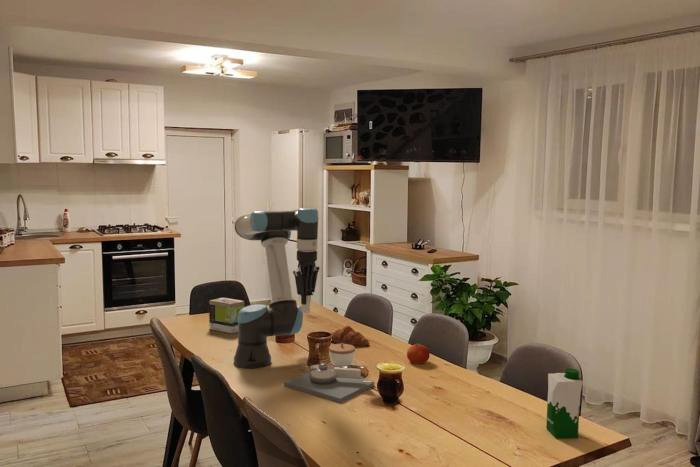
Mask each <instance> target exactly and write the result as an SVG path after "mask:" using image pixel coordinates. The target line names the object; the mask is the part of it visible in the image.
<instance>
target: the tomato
mask: <svg viewBox="0 0 700 467" xmlns="http://www.w3.org/2000/svg"><path fill="white" fill-rule="evenodd" d="M430 355H431V354H430V348H428V347H427V346H426V345H425V344H421V343H416V344H415V343H414V344H413V345H411V346H409V347H408V349H407V351H406V358H407V360H409V362H411V363H413V364H422V363H426V362H427V361H429V358H430Z"/></svg>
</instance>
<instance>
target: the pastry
mask: <svg viewBox="0 0 700 467" xmlns="http://www.w3.org/2000/svg"><path fill="white" fill-rule="evenodd" d="M330 333H331V335H332V342H331V343H333V344H341V343H343V344H349V345H352V346H354V347H367V346H370V341H369V340H368V339H367V338H366V337H365V336H364V335H363V334H362V333H361V332H359V331H356V330H354V328H353V327H351V326H350V325H345V326H343V327H342V329H336V330H335V331H333V332H330Z"/></svg>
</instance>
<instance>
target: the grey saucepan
mask: <svg viewBox="0 0 700 467" xmlns="http://www.w3.org/2000/svg"><path fill="white" fill-rule="evenodd" d="M367 369H368V368H367V366H366V365H360V366H359V368H355V367H353V368H352V367H347V368H340V367H335V366H334V365H333V364H332V365H331V364H329V363H327V362H320V363H319V364H313V365H310V366H309V368H308V372H309V378H310V381H311V382H313V383H317V384H329V383H333V382H335V381H336V380H337V378H352V379H364V377H367V373H368V370H367Z"/></svg>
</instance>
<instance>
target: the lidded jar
mask: <svg viewBox="0 0 700 467" xmlns="http://www.w3.org/2000/svg"><path fill="white" fill-rule="evenodd" d="M355 354H356V346H352V345H349V344H343V343H341V344H336V343H333V344H331V345H329V347H328V355H329V356H328V357H329V359H330V363H331V364H332V366H334V367H342V366H349V367H350V365H351V364H352V363H353V362H354V359H355Z"/></svg>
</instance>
